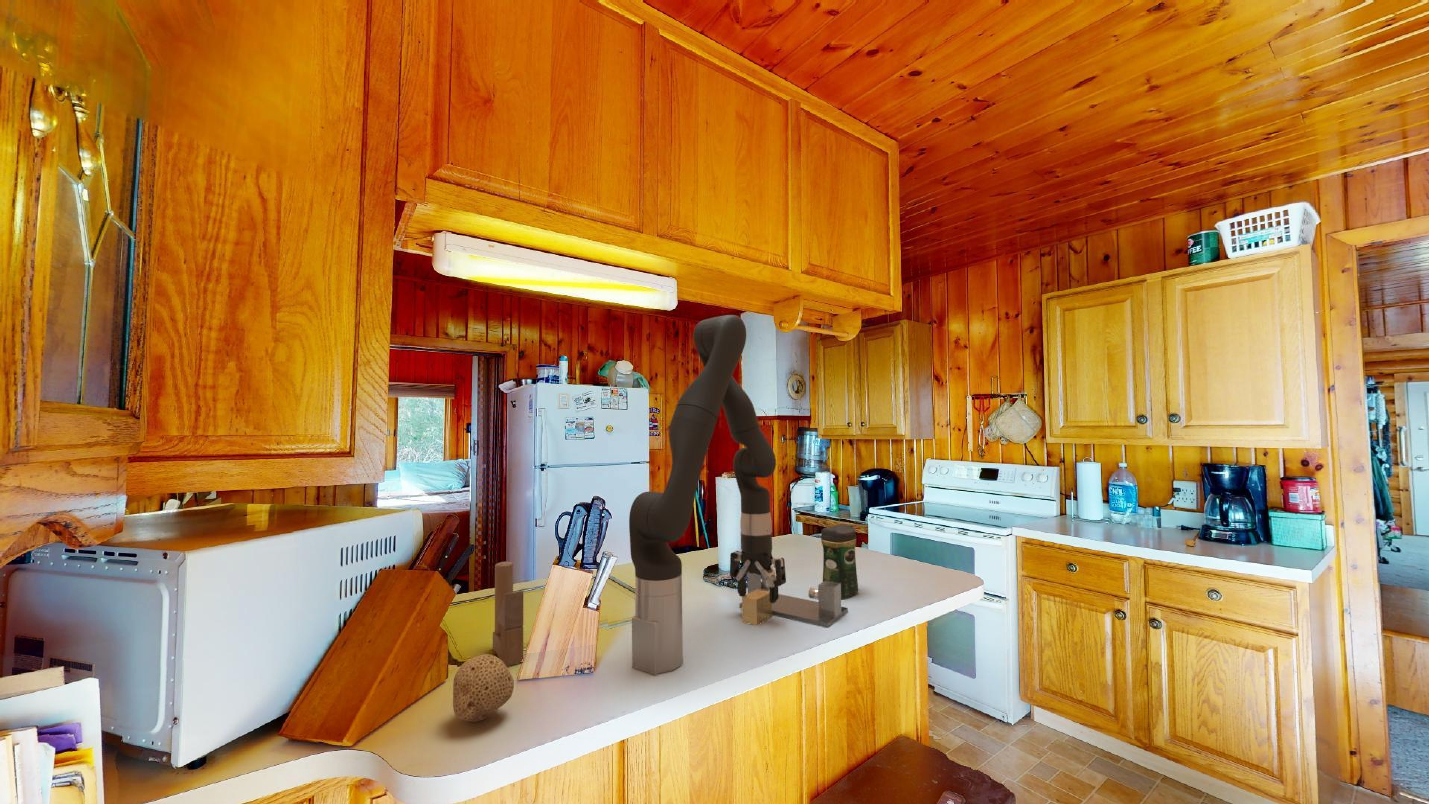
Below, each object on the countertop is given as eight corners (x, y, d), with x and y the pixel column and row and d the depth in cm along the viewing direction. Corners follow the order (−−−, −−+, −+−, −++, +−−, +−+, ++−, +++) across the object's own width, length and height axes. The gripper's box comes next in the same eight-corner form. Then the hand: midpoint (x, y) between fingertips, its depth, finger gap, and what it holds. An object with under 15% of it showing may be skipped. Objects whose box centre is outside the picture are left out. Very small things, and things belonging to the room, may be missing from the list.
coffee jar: (839, 587, 151) (837, 521, 151) (862, 593, 145) (861, 525, 145) (817, 594, 144) (815, 525, 145) (841, 601, 138) (839, 529, 139)
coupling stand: (827, 627, 121) (827, 592, 121) (739, 607, 135) (739, 575, 135) (847, 612, 131) (847, 579, 131) (763, 594, 145) (763, 565, 145)
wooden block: (504, 668, 103) (504, 574, 104) (492, 649, 112) (492, 562, 113) (524, 662, 105) (524, 571, 106) (510, 644, 114) (510, 560, 115)
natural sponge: (519, 702, 90) (519, 642, 90) (506, 732, 81) (506, 666, 82) (462, 707, 89) (462, 646, 89) (443, 738, 80) (443, 670, 80)
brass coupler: (771, 617, 128) (771, 591, 129) (756, 626, 123) (756, 599, 123) (757, 613, 131) (757, 589, 131) (742, 622, 125) (742, 596, 125)
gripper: (722, 530, 129) (724, 598, 128) (774, 537, 120) (776, 609, 120) (739, 525, 135) (741, 589, 134) (789, 531, 126) (791, 599, 126)
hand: (757, 598), depth 127 cm, fingers open, 8 cm apart
